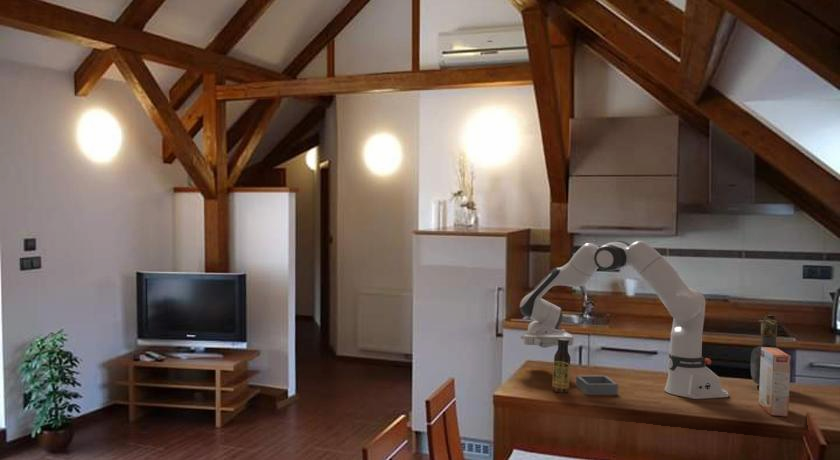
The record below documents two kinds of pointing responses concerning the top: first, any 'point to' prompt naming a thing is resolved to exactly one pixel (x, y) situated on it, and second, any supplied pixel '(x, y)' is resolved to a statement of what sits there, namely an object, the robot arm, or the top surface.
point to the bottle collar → (597, 385)
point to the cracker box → (774, 381)
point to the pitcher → (764, 344)
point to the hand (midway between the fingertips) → (552, 343)
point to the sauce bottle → (561, 367)
